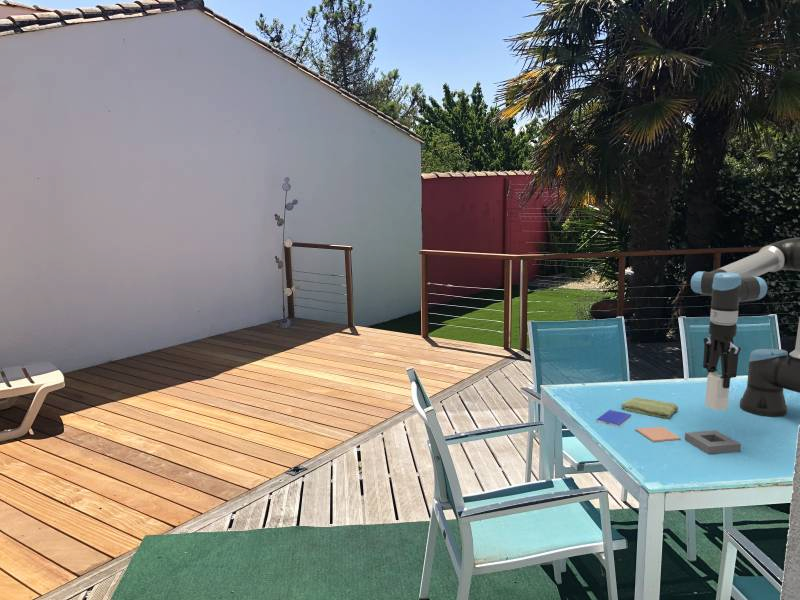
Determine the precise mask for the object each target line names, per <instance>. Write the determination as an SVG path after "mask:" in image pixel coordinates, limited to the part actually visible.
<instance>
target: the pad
mask: <svg viewBox="0 0 800 600" xmlns="http://www.w3.org/2000/svg"><path fill="white" fill-rule="evenodd" d="M635 431H636V432H637V433H639V434H640V435H641V436H643V437H645V438H646V439H648V440H649V441H650V442H652V443H659V442H671V441H672V442H673V441H680V440H681V437H680V436H678V435H676V434H675V433H673V432H672V431H670V430H668V429H667V428H665V427H664V426H655V427H642V428H641V427H640V428H635Z"/></svg>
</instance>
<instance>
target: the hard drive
mask: <svg viewBox="0 0 800 600" xmlns="http://www.w3.org/2000/svg"><path fill="white" fill-rule="evenodd" d="M631 418H632V414H631V413H626V412H623V411H617V410H613V409H608V410H607V411H605V412H604V413H603V414H602V415H601V416H599V417H598V418H597V419H595V422H596V423H600V424H604V425H609V426H613V427H615V428H616V427H617V428H619V427H621V426H622V425H623V424H625V423H626V422H628V420H630V419H631Z"/></svg>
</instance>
